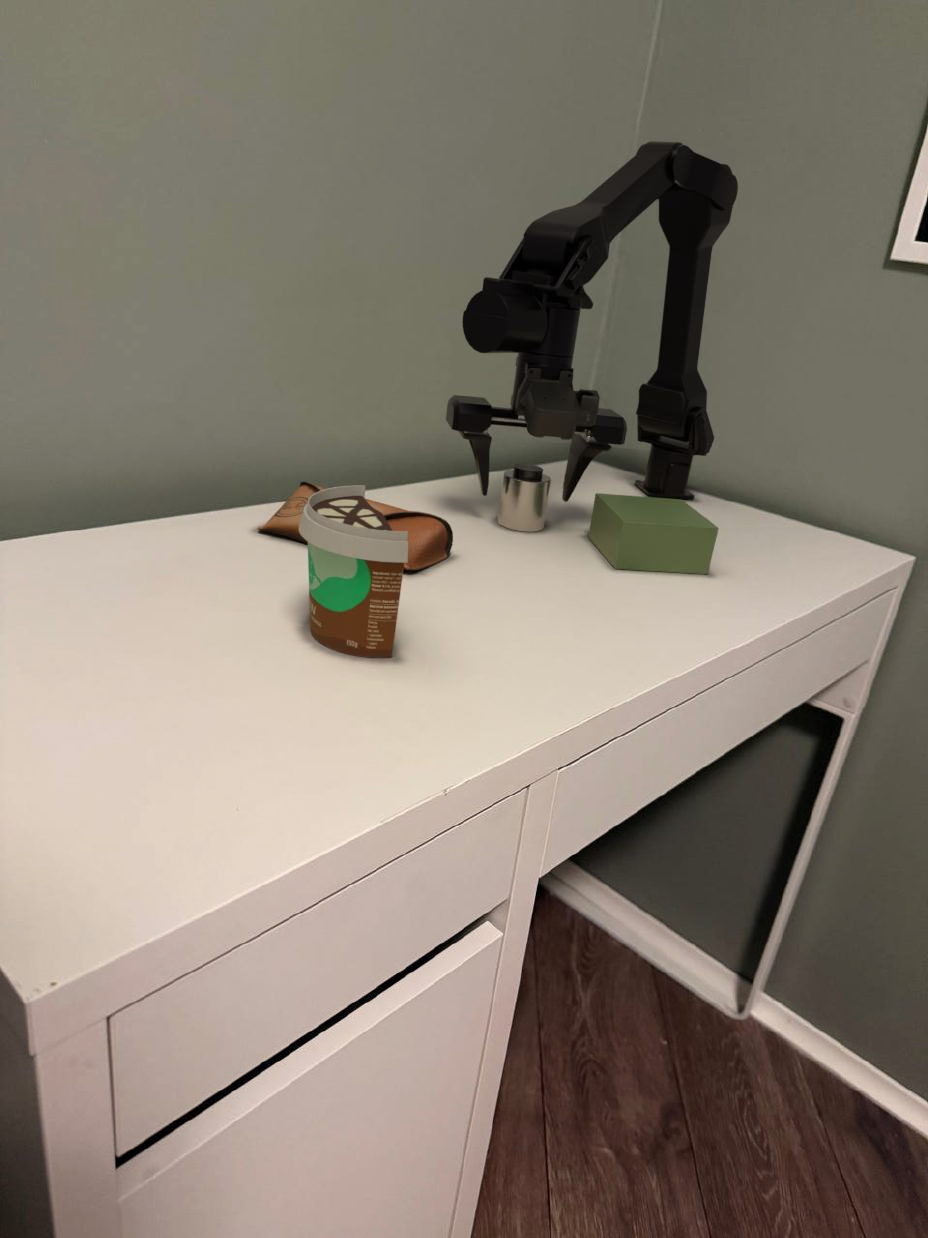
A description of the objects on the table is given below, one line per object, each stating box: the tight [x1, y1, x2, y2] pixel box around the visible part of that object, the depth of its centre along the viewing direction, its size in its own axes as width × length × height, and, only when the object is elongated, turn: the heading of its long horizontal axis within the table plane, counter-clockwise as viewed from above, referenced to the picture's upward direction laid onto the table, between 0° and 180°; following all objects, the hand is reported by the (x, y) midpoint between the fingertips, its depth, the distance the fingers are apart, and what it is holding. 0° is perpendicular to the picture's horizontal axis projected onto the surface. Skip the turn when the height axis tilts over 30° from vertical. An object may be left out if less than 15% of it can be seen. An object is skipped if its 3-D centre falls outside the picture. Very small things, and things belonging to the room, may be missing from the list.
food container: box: [299, 484, 408, 659], centre depth 66 cm, size 12×6×10 cm, turn 21°
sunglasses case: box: [257, 481, 454, 572], centre depth 87 cm, size 18×7×7 cm
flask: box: [497, 463, 552, 533], centre depth 98 cm, size 5×5×6 cm
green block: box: [587, 492, 719, 575], centre depth 94 cm, size 10×10×5 cm
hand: (524, 497), depth 99 cm, fingers open, 9 cm apart
